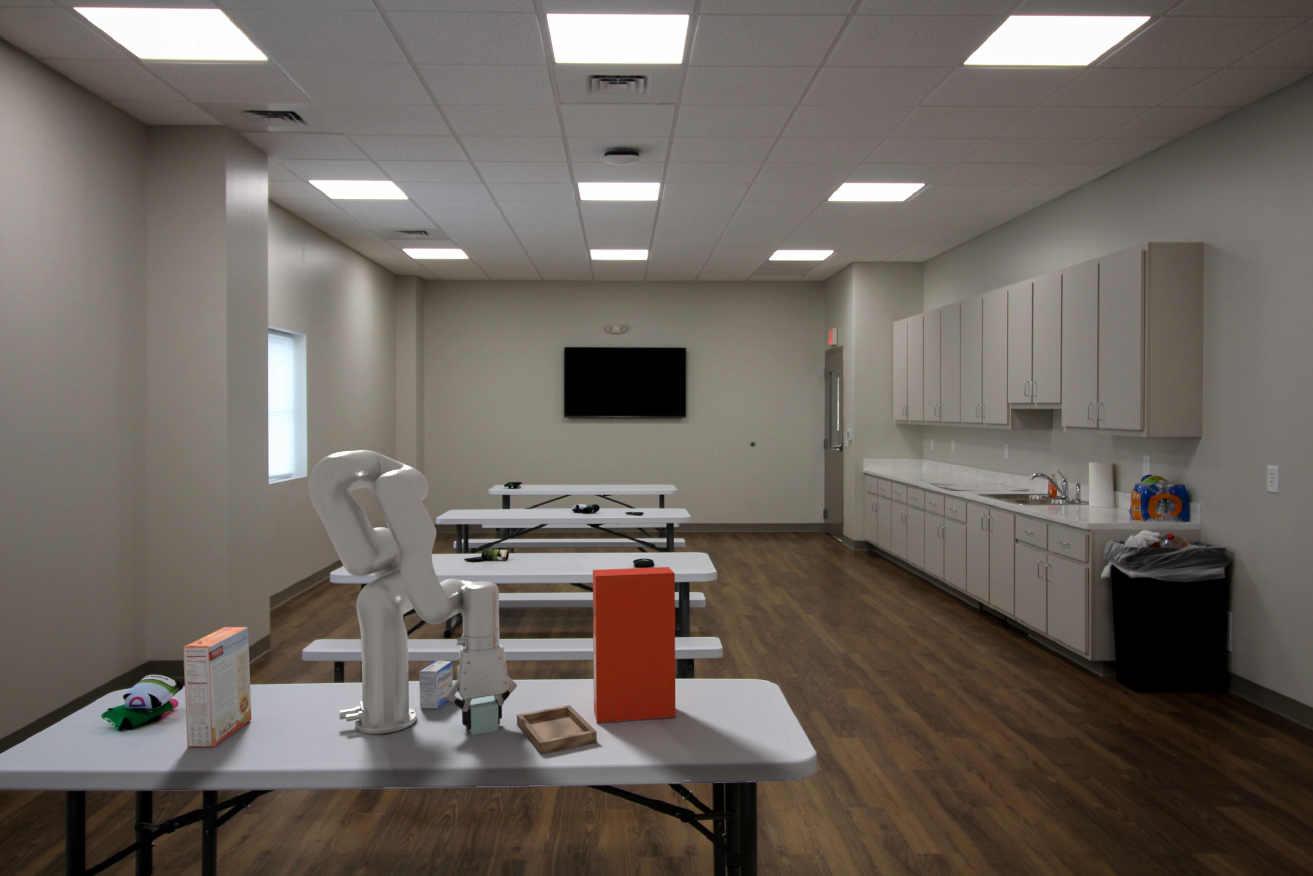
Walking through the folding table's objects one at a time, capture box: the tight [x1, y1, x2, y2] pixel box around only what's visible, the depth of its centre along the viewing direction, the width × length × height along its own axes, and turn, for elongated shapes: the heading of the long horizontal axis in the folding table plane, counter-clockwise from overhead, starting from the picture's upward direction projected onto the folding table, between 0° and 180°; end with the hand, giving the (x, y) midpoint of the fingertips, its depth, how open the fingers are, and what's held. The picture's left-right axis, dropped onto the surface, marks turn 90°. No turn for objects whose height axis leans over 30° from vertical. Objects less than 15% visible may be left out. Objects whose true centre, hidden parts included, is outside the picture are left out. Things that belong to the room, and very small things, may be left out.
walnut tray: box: [516, 704, 598, 755], centre depth 161 cm, size 12×16×2 cm
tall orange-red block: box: [592, 566, 676, 724], centre depth 171 cm, size 8×17×32 cm, turn 100°
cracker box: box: [182, 626, 252, 748], centre depth 161 cm, size 14×6×21 cm, turn 178°
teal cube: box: [469, 696, 499, 736], centre depth 164 cm, size 6×6×6 cm
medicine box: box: [418, 660, 454, 710], centre depth 178 cm, size 8×4×9 cm, turn 168°
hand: (482, 724), depth 164 cm, fingers closed on teal cube, 5 cm apart
